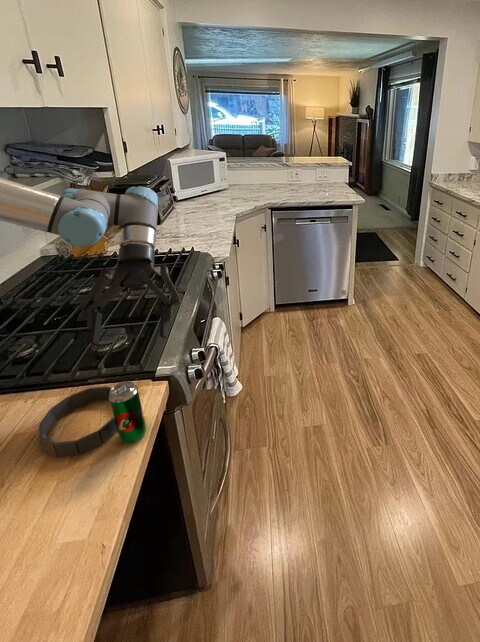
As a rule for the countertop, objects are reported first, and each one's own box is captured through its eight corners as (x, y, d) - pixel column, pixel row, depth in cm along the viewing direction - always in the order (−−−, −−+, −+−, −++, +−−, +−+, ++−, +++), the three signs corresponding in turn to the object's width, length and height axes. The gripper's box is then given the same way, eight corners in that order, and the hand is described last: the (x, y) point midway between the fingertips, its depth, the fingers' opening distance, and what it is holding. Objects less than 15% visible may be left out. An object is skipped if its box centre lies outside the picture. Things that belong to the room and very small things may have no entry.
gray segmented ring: (26, 441, 72) (21, 428, 70) (94, 391, 84) (91, 379, 83) (77, 468, 67) (72, 454, 65) (140, 410, 79) (138, 398, 78)
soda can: (152, 431, 74) (142, 386, 70) (128, 449, 70) (116, 403, 66) (137, 420, 77) (127, 376, 72) (114, 437, 73) (101, 391, 68)
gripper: (195, 251, 90) (194, 337, 81) (86, 257, 85) (72, 349, 77) (189, 239, 83) (187, 331, 74) (70, 245, 78) (53, 343, 70)
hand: (129, 340), depth 76 cm, fingers open, 13 cm apart
